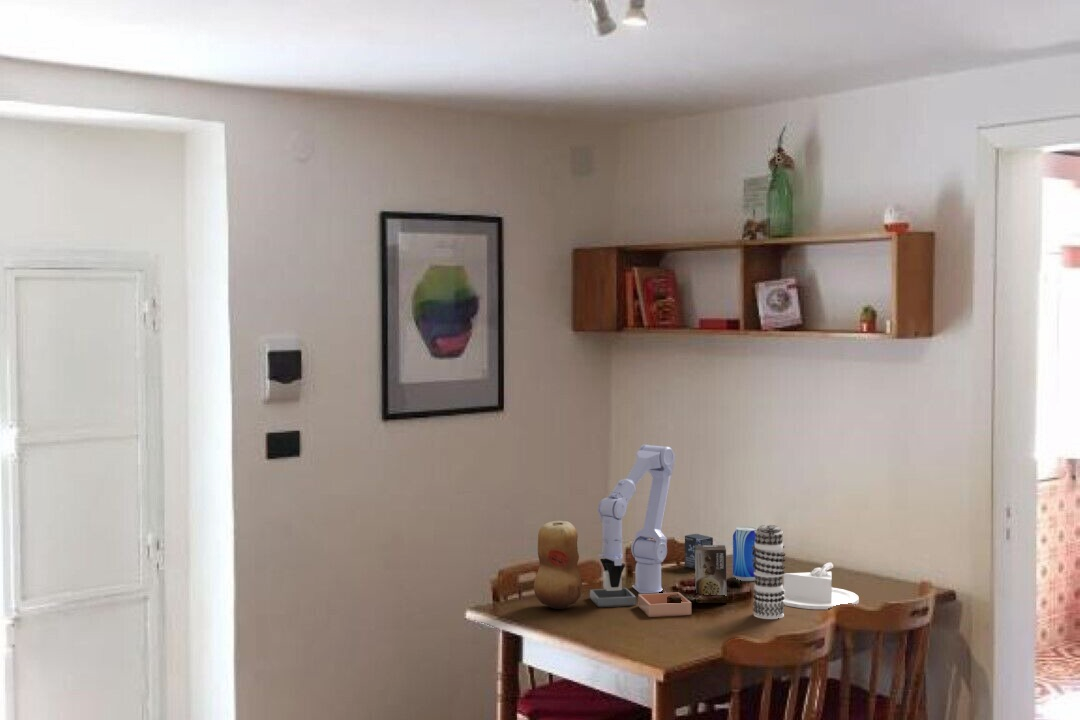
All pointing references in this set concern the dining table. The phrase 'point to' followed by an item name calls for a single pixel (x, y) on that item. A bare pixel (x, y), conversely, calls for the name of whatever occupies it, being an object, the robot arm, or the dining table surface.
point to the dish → (815, 590)
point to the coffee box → (710, 569)
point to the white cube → (607, 582)
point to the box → (690, 547)
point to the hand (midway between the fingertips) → (612, 585)
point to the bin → (663, 605)
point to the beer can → (743, 553)
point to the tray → (612, 598)
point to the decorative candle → (768, 572)
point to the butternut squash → (558, 565)
